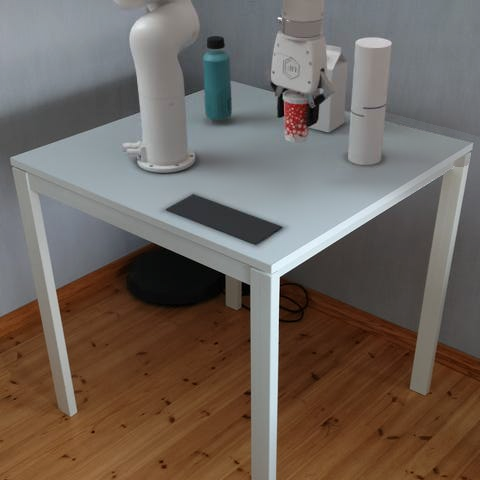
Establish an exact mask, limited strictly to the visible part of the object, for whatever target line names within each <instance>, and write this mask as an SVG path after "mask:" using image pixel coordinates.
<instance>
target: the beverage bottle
mask: <svg viewBox="0 0 480 480" xmlns="http://www.w3.org/2000/svg"><path fill="white" fill-rule="evenodd" d="M225 43H226V42H225V37H223V36H220V35H211V36H209V37H207V39H206V49H209V51H207V52H206V53H205V54H204V55H203V56H202V61H203V89H204V90H203V91H204V96H203V99H204V100H203V101H204V110H205V113H204V114H205V116H206V117H207V118H208V119H210V120H215V121H216V120H217V121H219V120H220V121H221V120H226V119H229V118H230V117H232V110H233V101H232V100H233V98H232V83H231V81H232V80H231V61H230V60H231V57H230V55H229V54H228V53H227V52H226V51H224V50H222V49H224V48H225V47H226V44H225Z"/></svg>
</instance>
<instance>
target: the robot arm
mask: <svg viewBox="0 0 480 480" xmlns="http://www.w3.org/2000/svg"><path fill="white" fill-rule="evenodd" d="M112 1H113V2H114V3H115V5H116V6H117V7H118V8H120V9H122V10H123V11H127V12H134V11H137V10H139V9H142V8H144V7H147V9H148V11H149V12H147V13H145V14H143V15H142V16H140V17H139V18H138V19H137V20H136V21H135V22H134V23H133V25H132V27H131V29H130V32H129V37H128V38H129V39H128V40H129V41H128V42H129V48H130V52H131V56H132V59H133V63H134V69H135V73H136V74H135V75H136V84H137V93H138V103H139V113H140V125H141V140H138V141H137V142H122V151H123V153H126V154H127V156H137V157H136V163H137V166H139V168H141V169H143V170H144V171H147V172H151V173H157V174H168V173H169V174H171V173H175V172H180V171H184V170H186V169H189V168H190V167H192V166H193V165H194V164H195V162H196V154H195V152H194V150H192V149H191V148H188V129H187V111H186V92H185V79H184V73H183V70H182V67H181V65H180V61H179V58H178V57H179V56H178V55H179V54H180V53H181V52H182V51H184V50H185V49H187V48H189V47H190V46H191V45H192V44H194V43H195V41H197V39H198V37H199V34H200V30H201V29H200V27H201V26H200V19H199V16H198V13H197V11H196V8H195V6H194V4H193V3H192V0H112ZM246 1H247V2H258V1H259V0H246ZM281 3H282V4H281V14H280V15H278V16H277V19H276V20H277V22H278V23H279V24H280V25H281V30H279V31H277V34H276V38H275V41H274V46H273V51H272V58H271V59H272V60H271V67H270V68H269V69H268V70H267V71H266V72H265V73H264V76H265V78H266V79H267V81H268V82H269V83H270V87H271V88H272V90H273V91H274V96H275V98H277V100H276V101H277V103H276V111H277V114H276V116H277V118H278V119H282V118H284V100H283V92H285V91H287V90H293V91H297V92H301V93H304V94H307V98H308V102H309V106H308V107H307V108H306V123H305V125H306V126H307V127H310V126H312V125H314V124H316V123H317V121H318V118H319V105H320V104H321V103H322V102H323V101H325V100H326V99H327V98H328V97H329V96H331V95H332V94H333V93H334V92H335V89H334V88H333V86H332V84H331V83H330V81H329V80H328V78H327V77H326V76H327V53H326V45H327V43H326V36H325V35H323V29H324V14H325V13H324V12H325V0H282V2H281ZM321 88H323V89H324V91H323V93H322V94H321V93H320V89H321ZM313 93H314V95H313ZM314 96H315V98H314Z"/></svg>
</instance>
